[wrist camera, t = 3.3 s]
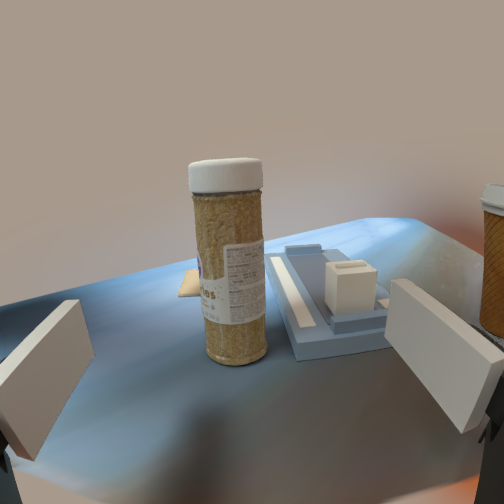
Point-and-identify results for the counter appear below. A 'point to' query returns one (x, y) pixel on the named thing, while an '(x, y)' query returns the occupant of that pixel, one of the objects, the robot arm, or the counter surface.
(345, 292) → the ivory tab
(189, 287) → the cork coaster
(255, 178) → the sprinkles bottle
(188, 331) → the counter surface
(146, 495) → the counter surface
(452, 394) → the robot arm
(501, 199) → the disposable coffee cup
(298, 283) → the switch board
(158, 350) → the counter surface
